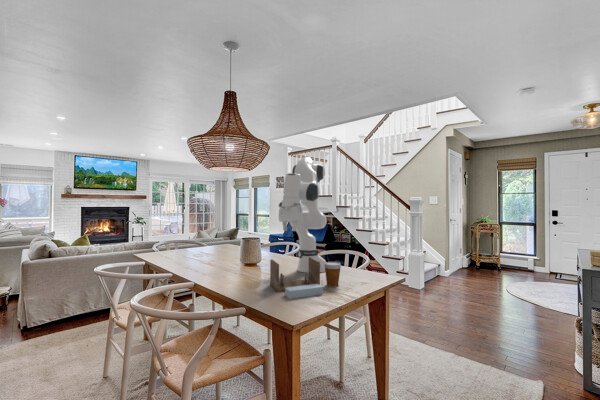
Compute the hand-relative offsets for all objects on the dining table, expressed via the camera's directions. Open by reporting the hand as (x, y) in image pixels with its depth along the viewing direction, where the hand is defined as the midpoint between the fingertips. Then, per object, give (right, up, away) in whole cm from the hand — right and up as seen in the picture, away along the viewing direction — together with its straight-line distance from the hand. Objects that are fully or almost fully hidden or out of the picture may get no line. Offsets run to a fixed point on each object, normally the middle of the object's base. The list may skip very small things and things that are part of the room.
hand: (289, 230), depth 150 cm
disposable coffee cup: (+24, -32, +15) cm, 42 cm away
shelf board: (+7, -32, -3) cm, 33 cm away
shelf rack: (+2, -32, +12) cm, 34 cm away
